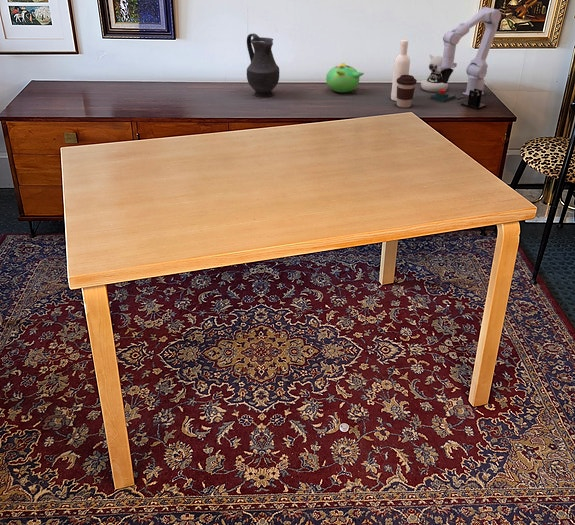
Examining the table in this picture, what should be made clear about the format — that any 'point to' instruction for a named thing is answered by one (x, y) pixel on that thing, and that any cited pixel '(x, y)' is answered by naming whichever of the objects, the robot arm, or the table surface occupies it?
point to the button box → (442, 96)
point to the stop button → (442, 91)
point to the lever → (465, 96)
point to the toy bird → (343, 78)
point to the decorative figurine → (434, 76)
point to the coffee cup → (405, 90)
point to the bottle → (400, 67)
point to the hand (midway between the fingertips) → (444, 83)
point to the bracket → (474, 100)
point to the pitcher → (261, 66)
